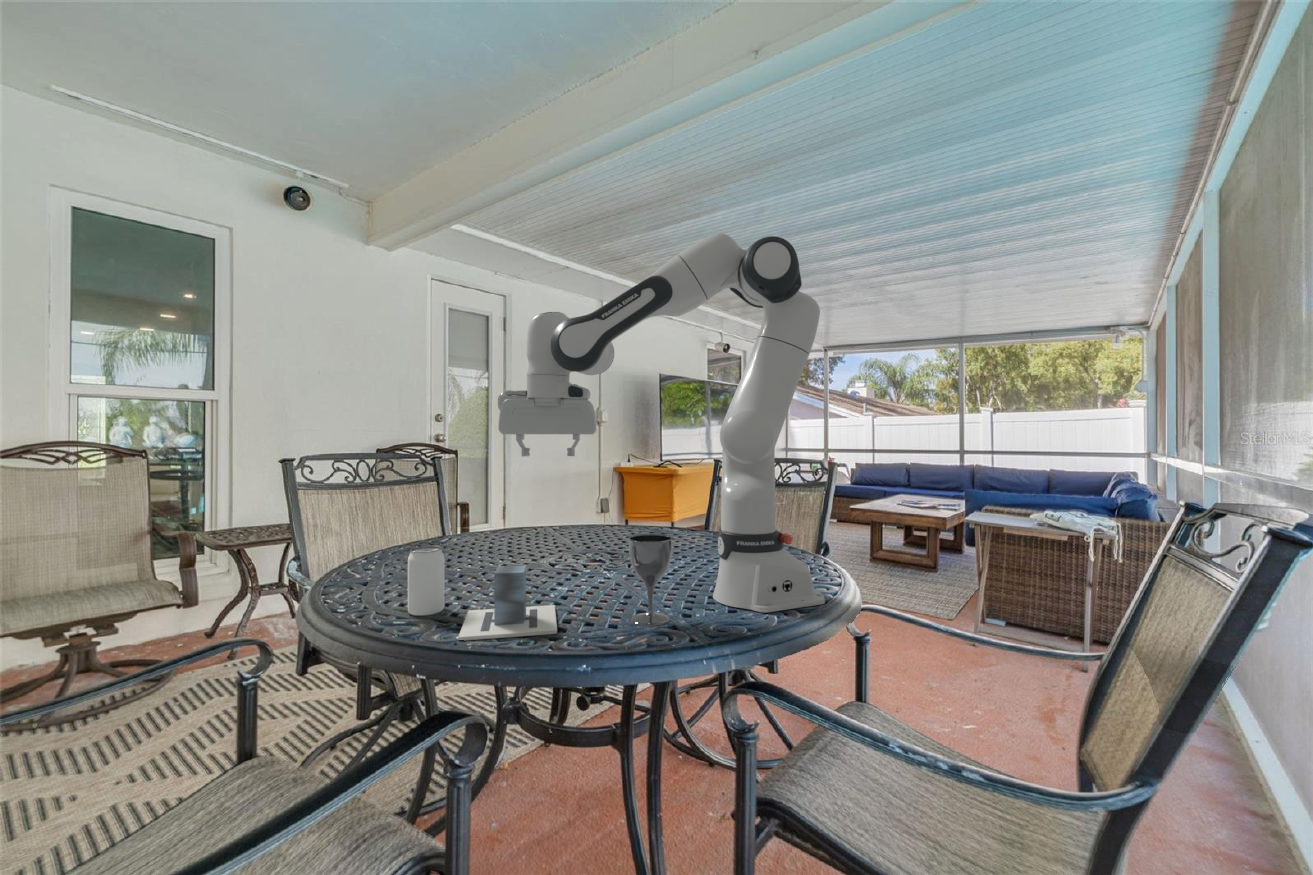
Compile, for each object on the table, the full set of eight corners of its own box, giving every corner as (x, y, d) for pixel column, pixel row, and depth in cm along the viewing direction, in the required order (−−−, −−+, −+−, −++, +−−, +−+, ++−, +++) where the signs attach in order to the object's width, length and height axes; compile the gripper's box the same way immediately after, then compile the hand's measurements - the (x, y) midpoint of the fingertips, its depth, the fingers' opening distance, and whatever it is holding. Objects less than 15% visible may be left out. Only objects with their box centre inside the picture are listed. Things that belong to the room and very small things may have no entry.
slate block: (526, 614, 103) (526, 565, 103) (523, 623, 98) (523, 572, 98) (498, 615, 102) (498, 566, 102) (494, 625, 97) (494, 573, 97)
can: (431, 618, 103) (431, 553, 103) (400, 615, 104) (400, 551, 104) (451, 607, 109) (451, 546, 109) (421, 605, 110) (421, 544, 110)
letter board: (554, 608, 109) (554, 604, 109) (557, 633, 95) (557, 629, 95) (468, 613, 105) (468, 610, 105) (458, 640, 92) (458, 637, 92)
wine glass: (621, 623, 100) (621, 539, 100) (639, 610, 108) (639, 532, 107) (663, 629, 97) (663, 543, 97) (678, 615, 105) (678, 535, 104)
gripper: (494, 389, 114) (495, 457, 114) (596, 389, 115) (596, 456, 116) (500, 391, 120) (500, 455, 120) (596, 392, 122) (596, 455, 122)
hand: (548, 456), depth 118 cm, fingers open, 8 cm apart
